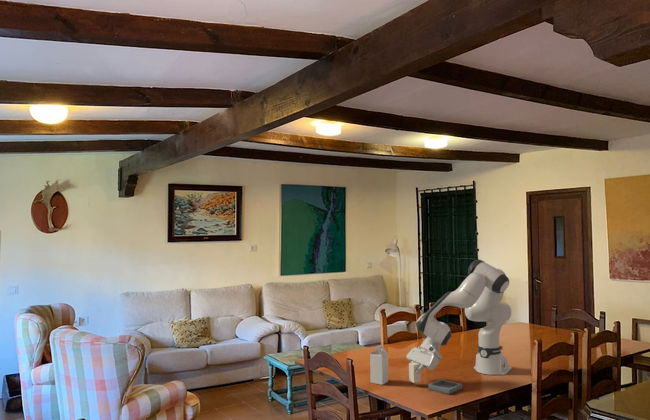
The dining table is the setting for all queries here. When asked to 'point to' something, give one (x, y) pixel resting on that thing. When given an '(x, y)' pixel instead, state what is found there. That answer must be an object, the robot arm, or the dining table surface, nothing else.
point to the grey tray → (445, 386)
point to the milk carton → (379, 366)
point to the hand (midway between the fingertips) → (413, 371)
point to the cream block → (413, 375)
